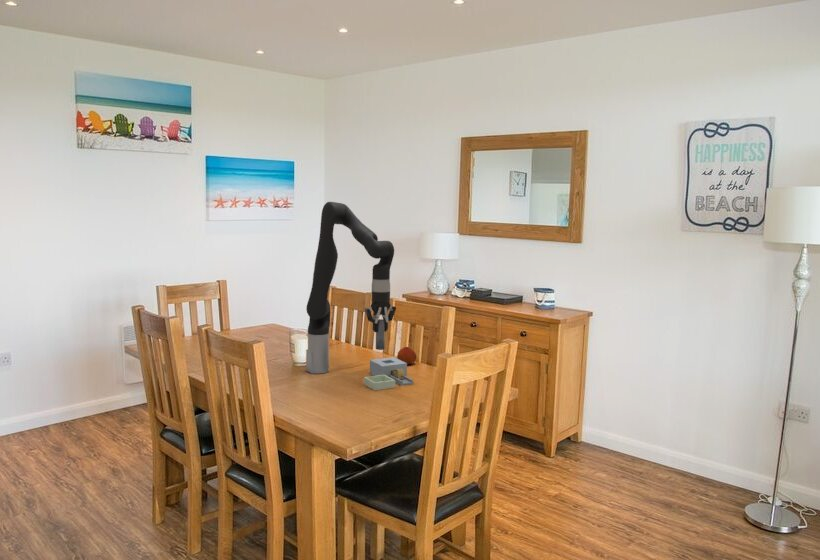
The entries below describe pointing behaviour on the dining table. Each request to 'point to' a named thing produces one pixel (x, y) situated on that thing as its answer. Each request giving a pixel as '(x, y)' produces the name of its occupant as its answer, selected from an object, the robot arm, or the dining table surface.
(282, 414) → the dining table surface
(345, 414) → the dining table surface
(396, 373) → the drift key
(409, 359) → the fruit
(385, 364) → the socket block
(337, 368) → the dining table surface
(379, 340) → the drill peg
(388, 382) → the tray
